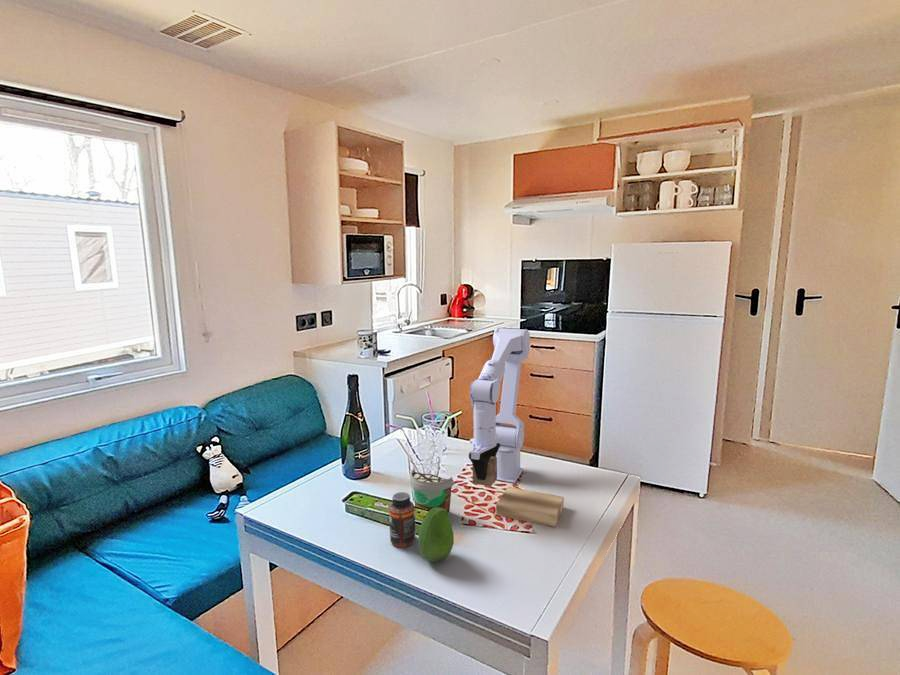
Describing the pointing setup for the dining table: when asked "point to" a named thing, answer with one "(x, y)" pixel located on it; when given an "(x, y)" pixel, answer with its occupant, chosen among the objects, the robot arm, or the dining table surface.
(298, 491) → the dining table surface
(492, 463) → the walnut block
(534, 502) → the oak block
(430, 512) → the avocado
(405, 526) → the supplement bottle
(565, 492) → the dining table surface
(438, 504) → the food container
